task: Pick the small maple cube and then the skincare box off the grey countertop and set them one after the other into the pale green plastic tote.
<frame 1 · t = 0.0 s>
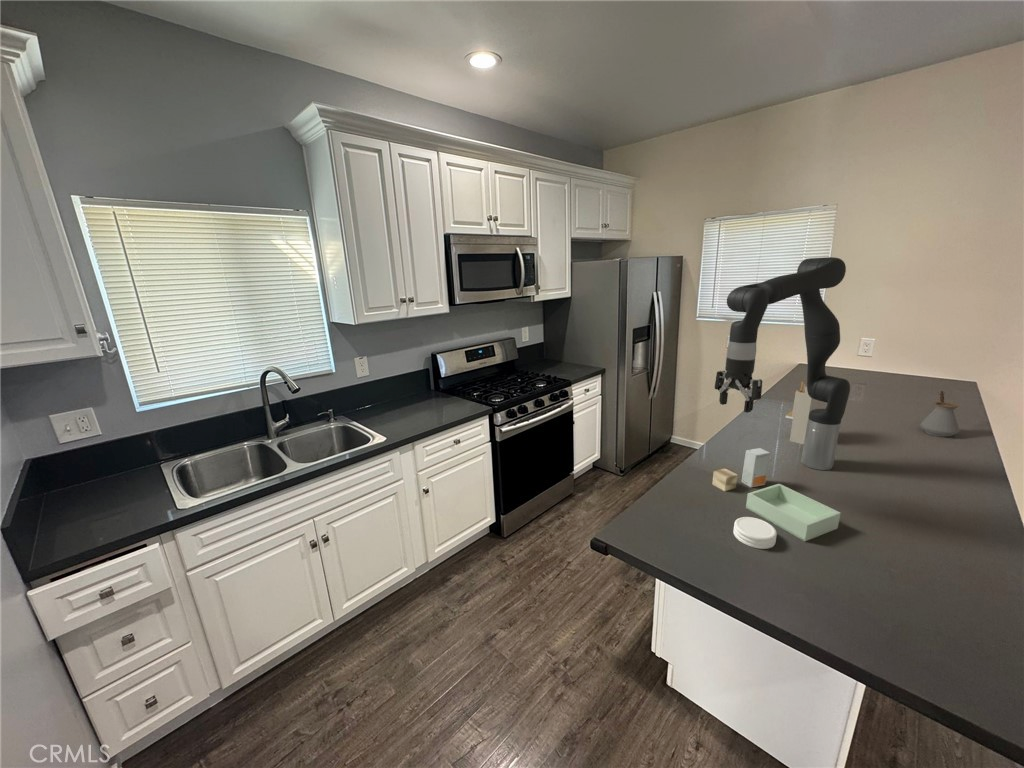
hand: (734, 407, 125), 29 cm above the countertop, fingers open, 8 cm apart
skincare box: (753, 484, 137), on the countertop
white round ribbed disc: (753, 538, 110), on the countertop
coffee pot: (936, 430, 174), on the countertop
tote: (789, 517, 118), on the countertop
tall cream panel: (799, 439, 171), on the countertop
maple cube: (723, 486, 136), on the countertop
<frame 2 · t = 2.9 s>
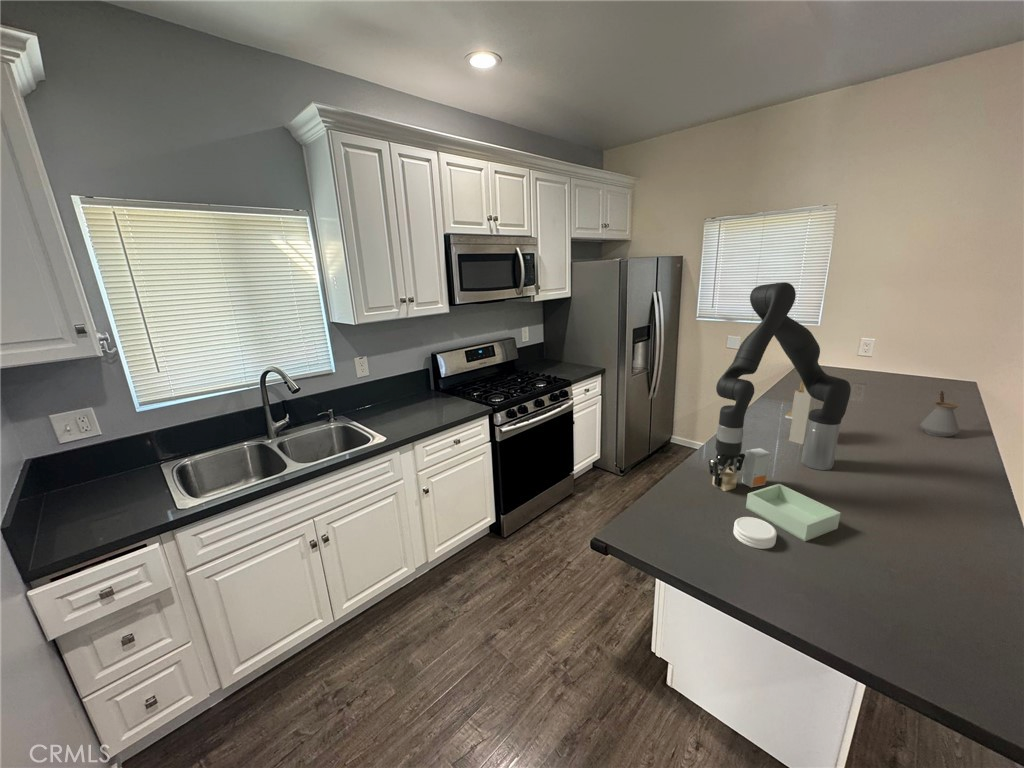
hand: (724, 484, 136), 1 cm above the countertop, fingers closed on maple cube, 5 cm apart
maple cube: (723, 486, 136), on the countertop, touching gripper
everything else where it was.
when the fingers open (4 cm above the countertop, at t = 8.4 s): maple cube drops 2 cm, resting on tote.
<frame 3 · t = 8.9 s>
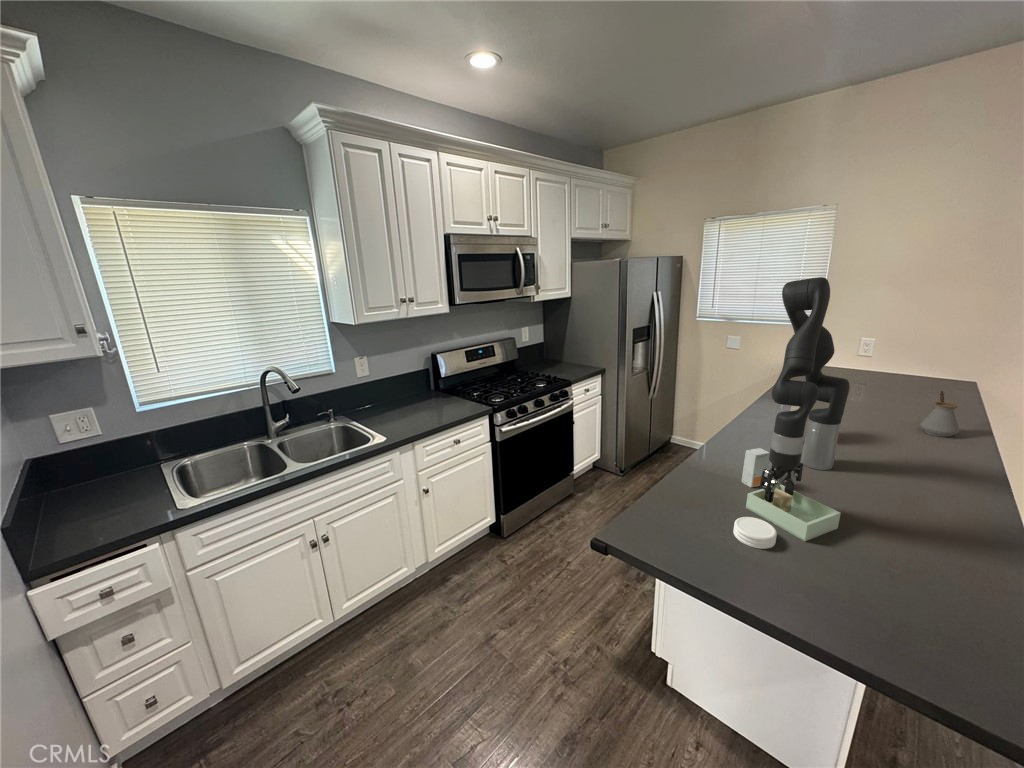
hand: (778, 497, 120), 4 cm above the countertop, fingers open, 8 cm apart
maple cube: (776, 508, 121), point 1 cm above the countertop, touching tote
everything else where it was.
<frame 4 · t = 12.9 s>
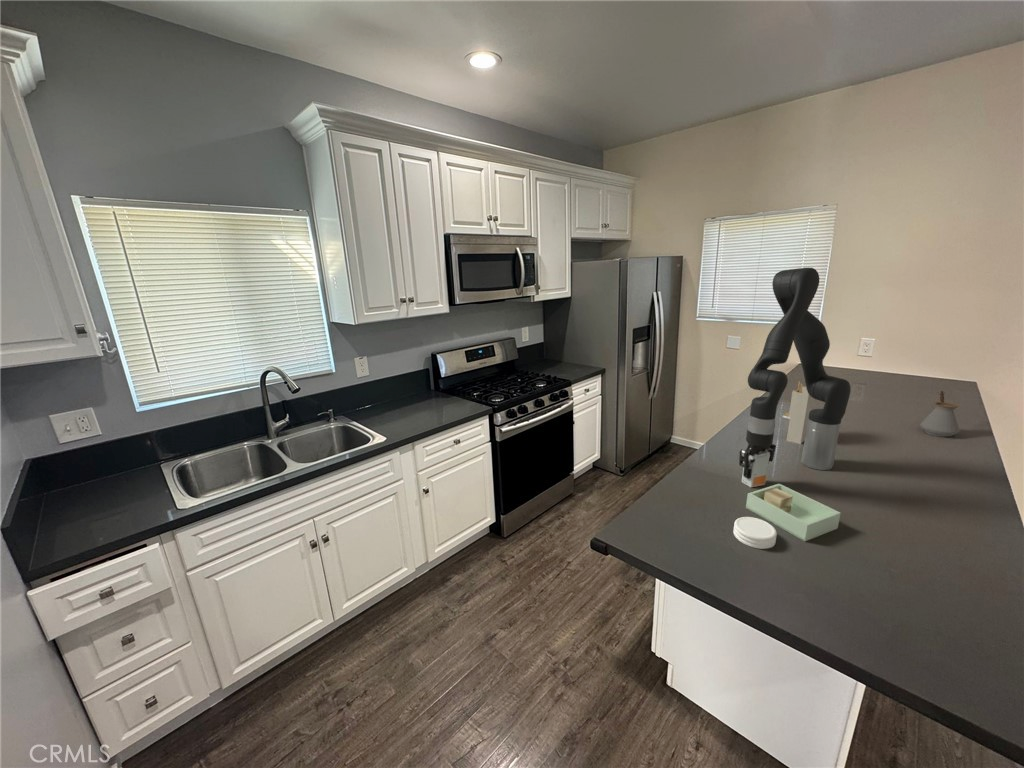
hand: (754, 475, 136), 3 cm above the countertop, fingers closed on skincare box, 6 cm apart
skincare box: (753, 484, 137), on the countertop, touching gripper
everything else where it was.
when the fingers open (6 cm above the countertop, at t = 19.6 s): skincare box drops 2 cm, resting on tote.
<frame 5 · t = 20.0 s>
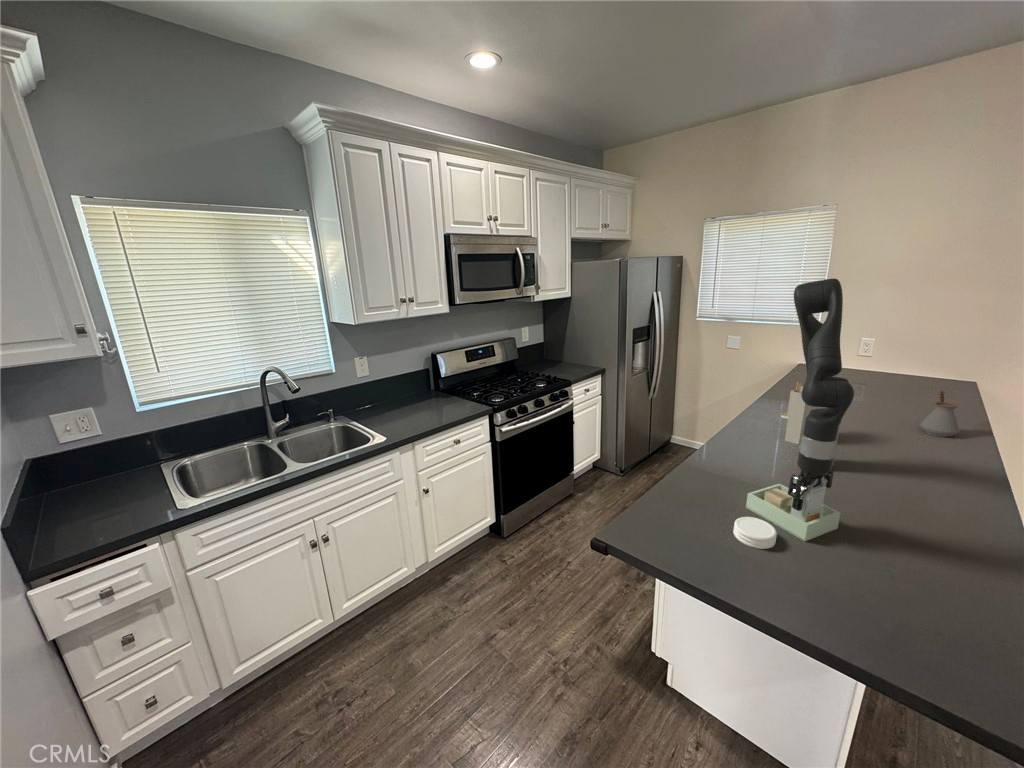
hand: (806, 505, 113), 6 cm above the countertop, fingers open, 8 cm apart
skincare box: (804, 523, 115), resting on tote
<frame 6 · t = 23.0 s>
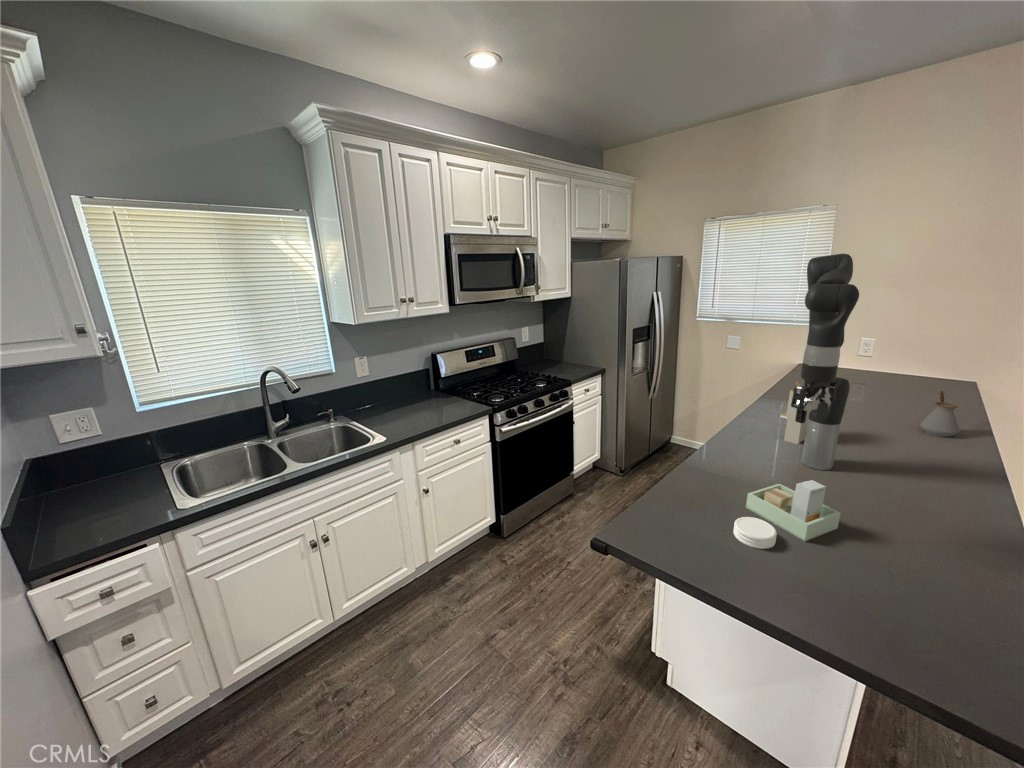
hand: (810, 419, 111), 30 cm above the countertop, fingers open, 8 cm apart
at the end: skincare box inside the target area (3.8 cm from its centre), resting on tote; maple cube inside the target area (4.0 cm from its centre), point 0.6 cm above the countertop; skincare box tilted 0° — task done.
